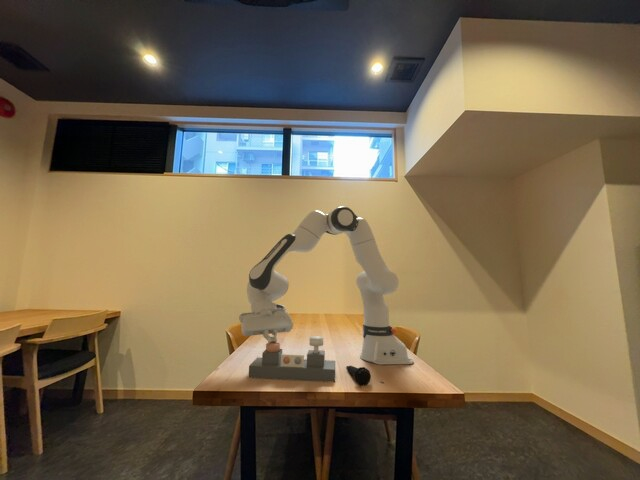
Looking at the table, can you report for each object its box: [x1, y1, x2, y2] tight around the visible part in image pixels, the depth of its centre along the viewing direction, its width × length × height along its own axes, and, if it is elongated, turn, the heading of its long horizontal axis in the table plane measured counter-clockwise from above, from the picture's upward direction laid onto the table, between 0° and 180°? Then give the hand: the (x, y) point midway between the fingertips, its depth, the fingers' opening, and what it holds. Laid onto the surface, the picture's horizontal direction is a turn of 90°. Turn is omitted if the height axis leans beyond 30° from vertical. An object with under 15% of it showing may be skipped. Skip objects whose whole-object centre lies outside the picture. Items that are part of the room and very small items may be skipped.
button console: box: [247, 348, 336, 383], centre depth 100 cm, size 30×10×8 cm, turn 86°
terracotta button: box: [265, 342, 281, 353], centre depth 101 cm, size 5×5×6 cm
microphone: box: [346, 365, 372, 386], centre depth 99 cm, size 6×6×20 cm
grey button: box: [309, 335, 324, 354], centre depth 100 cm, size 5×5×6 cm
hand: (272, 342), depth 102 cm, fingers closed, pressing on terracotta button
